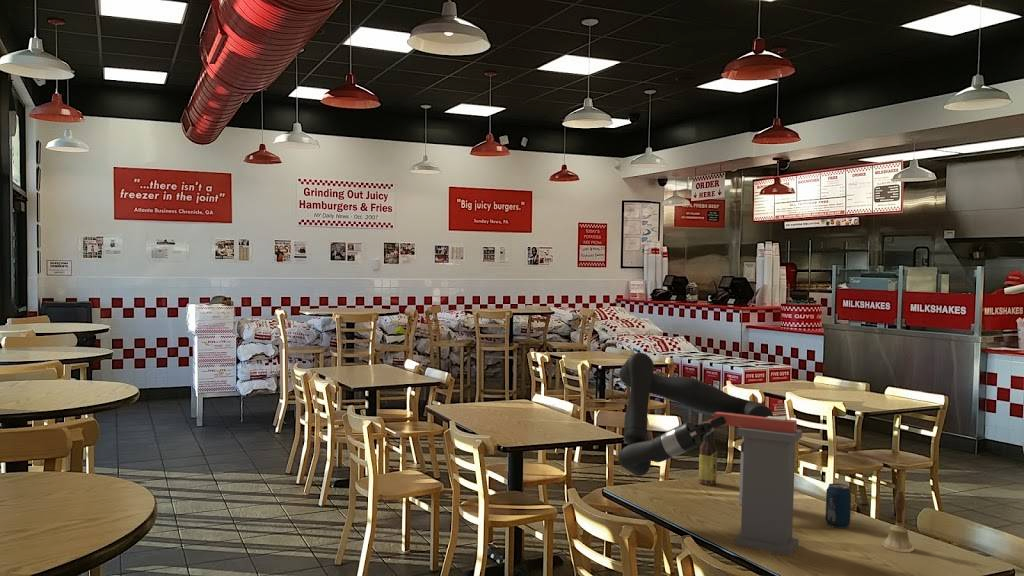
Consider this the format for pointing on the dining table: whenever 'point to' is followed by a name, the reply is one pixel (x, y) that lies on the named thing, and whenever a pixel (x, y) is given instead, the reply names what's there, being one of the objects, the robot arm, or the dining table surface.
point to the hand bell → (898, 527)
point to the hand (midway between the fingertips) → (729, 417)
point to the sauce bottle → (708, 460)
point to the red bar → (758, 422)
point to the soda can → (838, 505)
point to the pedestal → (768, 490)
